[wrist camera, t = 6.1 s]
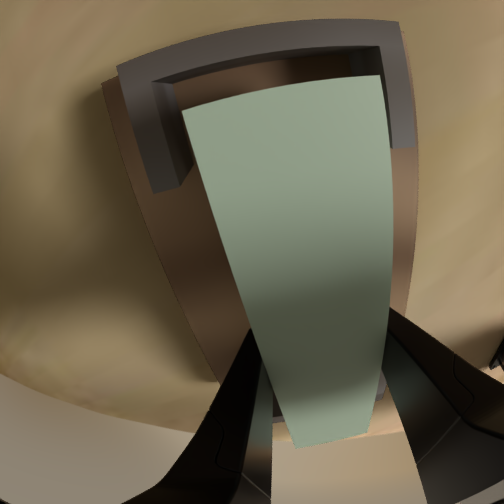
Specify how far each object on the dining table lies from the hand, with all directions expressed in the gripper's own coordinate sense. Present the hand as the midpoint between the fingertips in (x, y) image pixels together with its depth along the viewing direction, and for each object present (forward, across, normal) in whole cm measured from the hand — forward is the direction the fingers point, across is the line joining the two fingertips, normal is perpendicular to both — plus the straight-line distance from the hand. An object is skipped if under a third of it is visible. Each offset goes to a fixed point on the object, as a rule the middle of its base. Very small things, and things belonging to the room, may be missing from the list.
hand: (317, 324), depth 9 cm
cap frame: (+5, 0, 0) cm, 5 cm away
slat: (+1, 0, 0) cm, 1 cm away
